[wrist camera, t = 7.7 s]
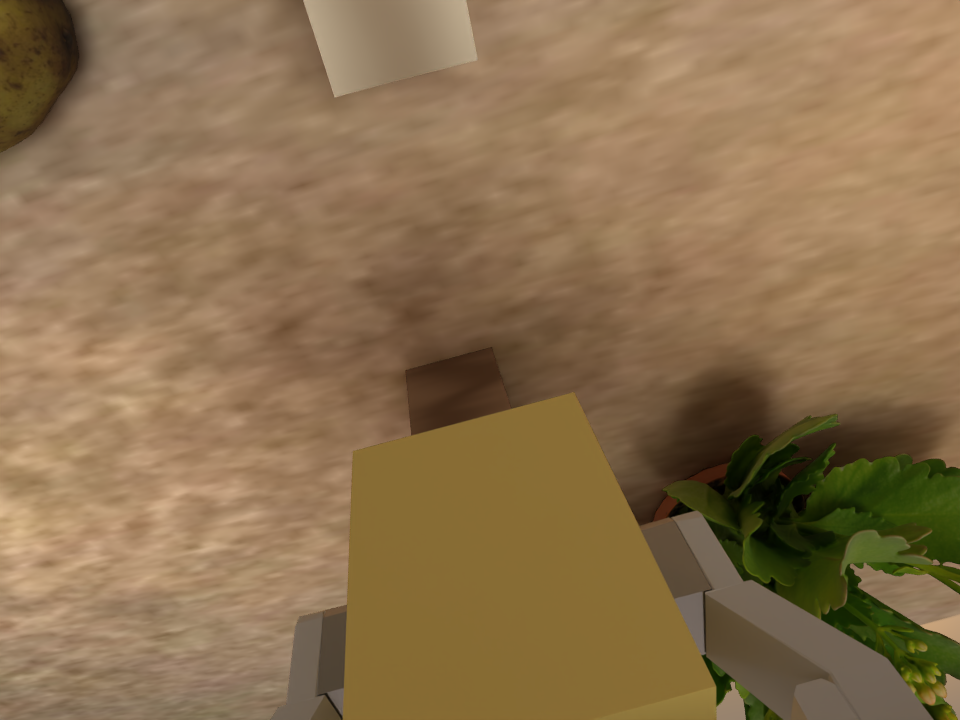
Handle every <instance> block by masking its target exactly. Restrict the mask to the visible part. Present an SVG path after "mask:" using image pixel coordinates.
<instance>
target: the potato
mask: <svg viewBox="0 0 960 720" xmlns="http://www.w3.org/2000/svg"><path fill="white" fill-rule="evenodd" d="M78 59H79V53H78V46H77V41H76V36H75V32H74V27H73V23H72V19H71V16H70V14H69V12H68V10H67V8H66V7H65V5H64V3H63V1H62V0H0V152H2V151H5V150H6V149H8V148H10V147H12V146H14V145H16V144H18V143H19V142H21V141H22V140H24V139H26V138H27V137H28V136H30V135H31V134H32V133H33V132H34V131H35V130H36V129H37V128H38V126H39V125H40V124H41V123H42V122H43V121H44V119H45V117H46V116H47V114H48V113H49V111H50V109H51V108H52V106H53V105H54V103H55V102H56V100H57V99H58V97H59V96H60V94H61V93H62V92H63V90H64V89H65V88H66V86H67V85H68V83H69V82H70V80H71V79H72V77H73V75H74V73H75V72H76V70H77V66H78Z"/></svg>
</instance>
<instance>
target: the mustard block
mask: <svg viewBox="0 0 960 720" xmlns="http://www.w3.org/2000/svg"><path fill="white" fill-rule="evenodd" d="M343 720H716V685H715V683H714V681H713V679H712V676H711V674H710V672H709V670H708V668H707V666H706V664H705V662H704V660H703V658H702V656H701V654H700V652H699V650H698V648H697V645H696V643H695V641H694V639H693V637H692V635H691V633H690V631H689V629H688V627H687V625H686V623H685V621H684V619H683V616H682V614H681V612H680V610H679V608H678V606H677V604H676V602H675V600H674V598H673V596H672V594H671V592H670V590H669V587H668V585H667V583H666V581H665V579H664V577H663V575H662V573H661V571H660V569H659V567H658V565H657V563H656V561H655V558H654V556H653V554H652V552H651V550H650V548H649V546H648V544H647V542H646V540H645V538H644V536H643V534H642V532H641V530H640V527H639V525H638V523H637V521H636V519H635V517H634V515H633V513H632V511H631V509H630V507H629V505H628V503H627V501H626V498H625V496H624V494H623V492H622V490H621V488H620V486H619V484H618V482H617V480H616V478H615V476H614V474H613V472H612V469H611V467H610V465H609V463H608V461H607V459H606V457H605V455H604V453H603V451H602V449H601V447H600V445H599V443H598V441H597V438H596V436H595V434H594V432H593V430H592V428H591V426H590V424H589V422H588V420H587V418H586V416H585V414H584V412H583V409H582V407H581V405H580V403H579V401H578V399H577V397H576V395H575V393H574V392H573V393H569V394H565V395H562V396H558V397H554V398H550V399H547V400H543V401H539V402H535V403H532V404H528V405H524V406H520V407H517V408H513V409H509V410H505V411H502V412H498V413H494V414H491V415H487V416H483V417H479V418H476V419H472V420H468V421H464V422H461V423H457V424H453V425H449V426H446V427H442V428H438V429H434V430H431V431H427V432H423V433H419V434H416V435H412V436H408V437H404V438H401V439H397V440H393V441H389V442H386V443H382V444H378V445H374V446H371V447H367V448H363V449H359V450H356V451H353V461H352V488H351V514H350V540H349V567H348V593H347V620H346V646H345V672H344V699H343Z"/></svg>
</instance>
